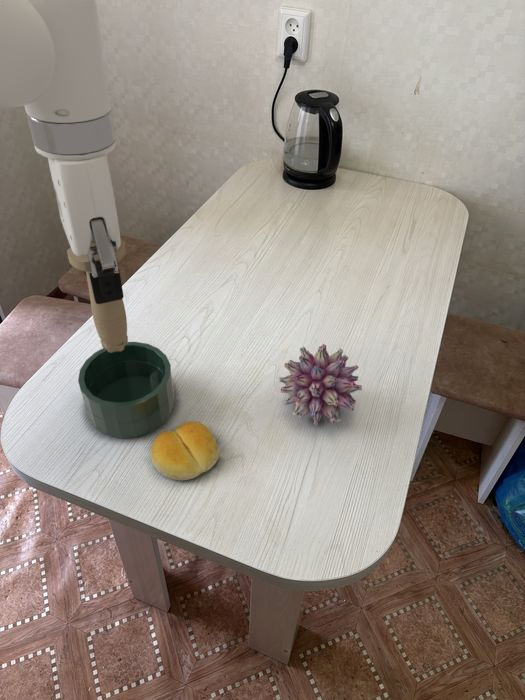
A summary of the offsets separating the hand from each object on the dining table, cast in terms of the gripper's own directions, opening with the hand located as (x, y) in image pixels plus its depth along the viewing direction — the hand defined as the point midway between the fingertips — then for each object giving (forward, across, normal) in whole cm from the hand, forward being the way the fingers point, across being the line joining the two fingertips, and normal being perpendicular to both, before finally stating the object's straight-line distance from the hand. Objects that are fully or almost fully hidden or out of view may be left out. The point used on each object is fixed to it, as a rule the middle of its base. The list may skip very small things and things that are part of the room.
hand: (103, 284), depth 60 cm
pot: (+22, 0, +1) cm, 22 cm away
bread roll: (+23, +12, +5) cm, 26 cm away
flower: (+22, +12, +26) cm, 36 cm away
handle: (+10, 0, 0) cm, 10 cm away
